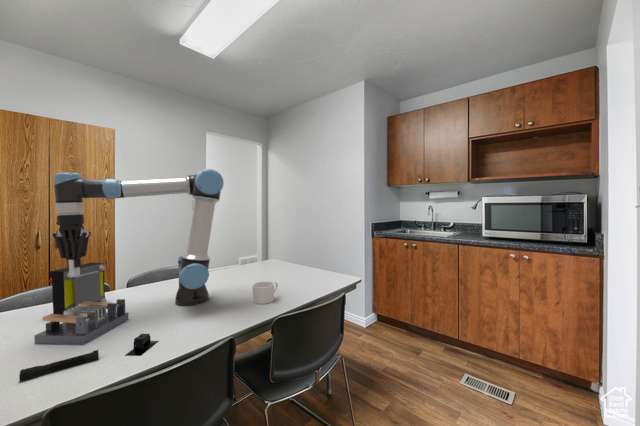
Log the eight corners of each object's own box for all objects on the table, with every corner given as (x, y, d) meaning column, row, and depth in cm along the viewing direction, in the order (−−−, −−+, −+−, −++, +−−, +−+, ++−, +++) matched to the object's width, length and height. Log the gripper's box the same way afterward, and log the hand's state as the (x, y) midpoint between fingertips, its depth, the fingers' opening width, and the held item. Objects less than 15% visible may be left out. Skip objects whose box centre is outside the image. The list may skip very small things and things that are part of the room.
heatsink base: (128, 319, 112) (127, 298, 112) (83, 344, 92) (82, 318, 92) (87, 319, 113) (86, 298, 113) (34, 343, 93) (33, 318, 93)
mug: (259, 306, 126) (259, 289, 125) (249, 300, 134) (248, 284, 133) (283, 299, 135) (283, 283, 134) (272, 294, 142) (272, 279, 142)
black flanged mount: (144, 340, 96) (144, 327, 96) (164, 340, 96) (164, 327, 96) (117, 360, 84) (117, 346, 83) (140, 360, 83) (140, 346, 83)
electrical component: (68, 318, 114) (66, 272, 114) (49, 316, 116) (48, 271, 116) (108, 303, 131) (107, 263, 131) (91, 302, 133) (90, 262, 133)
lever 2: (117, 306, 110) (117, 303, 110) (111, 309, 107) (111, 306, 107) (84, 303, 111) (84, 301, 111) (77, 306, 108) (78, 303, 108)
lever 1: (88, 319, 97) (88, 316, 97) (80, 323, 94) (80, 320, 94) (51, 317, 98) (51, 313, 98) (42, 320, 95) (42, 317, 95)
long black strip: (22, 378, 75) (21, 367, 75) (98, 357, 85) (98, 347, 85) (19, 383, 72) (19, 373, 72) (98, 361, 83) (98, 351, 82)
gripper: (95, 213, 104) (100, 272, 105) (63, 214, 105) (67, 273, 106) (77, 214, 97) (82, 278, 98) (43, 215, 97) (48, 279, 98)
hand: (75, 275), depth 102 cm, fingers closed
